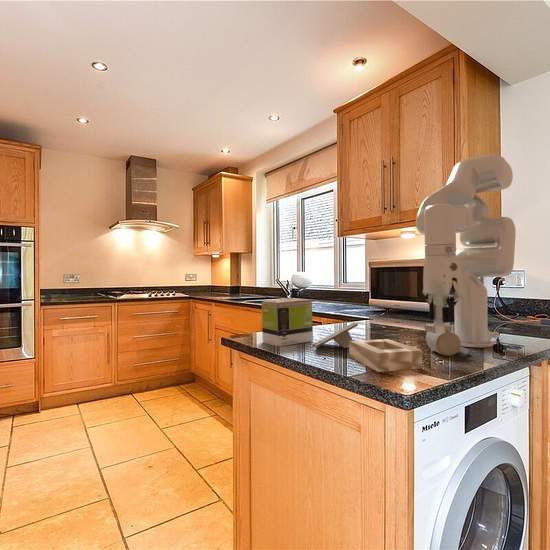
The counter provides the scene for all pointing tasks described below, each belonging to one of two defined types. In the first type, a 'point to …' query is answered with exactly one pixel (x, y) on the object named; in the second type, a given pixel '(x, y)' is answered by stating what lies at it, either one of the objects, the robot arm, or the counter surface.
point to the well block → (385, 355)
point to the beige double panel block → (339, 337)
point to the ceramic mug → (445, 343)
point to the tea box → (287, 321)
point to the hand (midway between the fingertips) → (441, 319)
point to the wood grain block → (438, 317)
